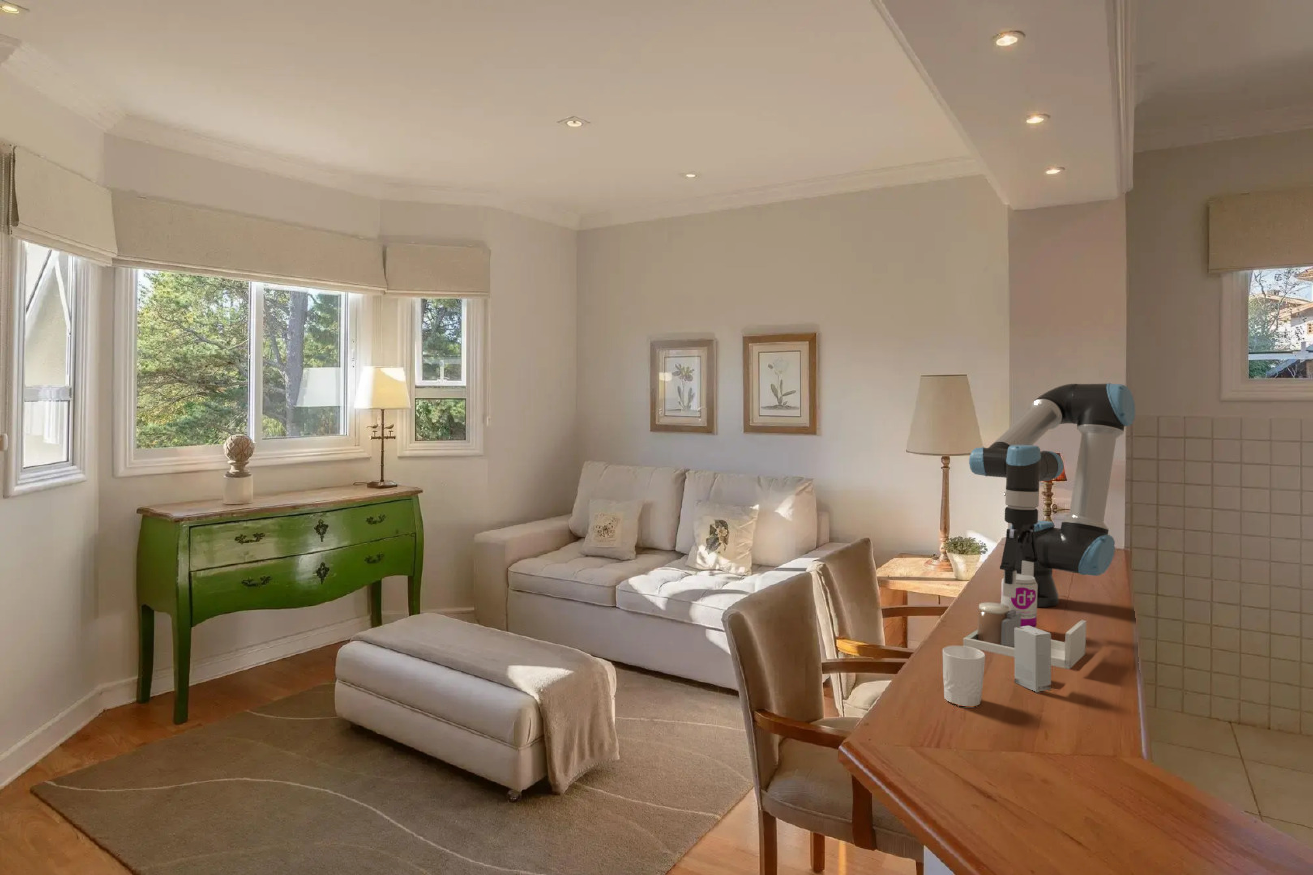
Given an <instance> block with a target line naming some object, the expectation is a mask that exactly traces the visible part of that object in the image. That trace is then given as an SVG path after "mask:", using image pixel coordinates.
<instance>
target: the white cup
mask: <svg viewBox="0 0 1313 875" xmlns="http://www.w3.org/2000/svg"><path fill="white" fill-rule="evenodd" d="M941 651H942V676H943V696H944V697H943V698H944V700H945V699H946V700H947V701H949V702H952V703H955V704H958V705H962V706H975V705H979V704H980V705H981V703H982V691H983V686H984V684H983V683H984V677H985V676H984V675H985V674H984V673H985V672H984V671H985V662H986V653H985V652H983V650H979V649H976V648H972V647H967V646H963V645H947V646H945V647H943V648H942V650H941ZM946 700H945V701H946ZM947 701H946V702H947ZM980 702H981V703H980ZM980 705H979V706H980Z"/></svg>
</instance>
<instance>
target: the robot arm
mask: <svg viewBox="0 0 1313 875" xmlns="http://www.w3.org/2000/svg"><path fill="white" fill-rule="evenodd" d="M1135 404H1136V403H1135V398H1134V395H1133V393H1132V391H1131V389H1130V388H1129V387H1128V386H1127V385H1125V384H1123V383H1122V384H1120V383H1111V382H1108V383H1068V384H1063V385H1060V386H1057V387H1055V388H1053V389H1050V390H1047V391H1046V392H1044V393H1043V394H1042V395H1039V396H1038V397H1037V398H1035V399H1034V400H1033V401H1032V402H1031V403H1030V404H1029V406H1028V408H1027V411H1026V413H1024V414H1023V416H1021V417H1020V418H1019V419H1018V420H1016V422H1015V423H1014V424H1013V425H1011V426H1010V427H1009V428H1008V429H1007V430H1006V431H1005V432H1004V433H1002V434H1001V436H1000V437H998V438H997V439H996V440H995V441H994V442H993V443H992V444H991V445H990V446H989V447H985V446H982V447H975V448H974V449H972V451H971V452H970V454H969V458H968V459H969V460H968V464H969V469H970V471H971V473H973V474H974V475H976V476H977V475H978V476H985V477H991V478H993V477H994V478H1004V479H1005V478H1006V481H1005V482H1006V483H1005V492H1003V496H1004V497H1005V505H1006V507H1005V508H1004V521H1005V522H1006V523H1008V524H1011V525H1010V527H1009V528H1007V529H1006V533H1005V534H1006V535H1005V537H1006V538H1005V540H1004V541H1005V543H1004V548H1003V551H1002V552H1003V553H1002V559H1001V563H1000V566H999V569H1000V570H1002V571H1003V578H1004V582H1003V596H1006V597H1012V598H1015V597H1016V574H1025V575H1030V576H1033V577H1035V581H1036V582H1037V585H1038V587H1037V608H1039V607H1040V608H1045V607H1046V608H1047V607H1053V606H1057V605H1059V593H1058V590H1057V586H1056V583H1055V580H1054V577H1053V570H1058V571H1062V572H1063V571H1064V572H1069V573H1073V574H1079V575H1082V576H1093V577H1094V576H1095V577H1097V576H1098V577H1099V576H1102V575H1103V574H1105V573H1106V571H1107V570H1108V569H1109V567H1110V566H1111V565H1112V561H1113V559H1114V555H1115V549H1116V546H1115V545H1116V542H1115V539H1114V537H1113V536H1112V535H1110V534H1109V527H1107V525H1106V524H1105V523H1104V520H1105V514H1106V507H1107V502H1108V501H1107V500H1108V495H1109V488H1110V483H1111V474H1112V469H1113V462H1114V454H1115V449H1116V442H1117V439H1118V438H1120V436H1122V435H1124V431H1125V427H1129V426H1131V425H1132V424H1133V423H1134V421H1135V419H1136V418H1135V417H1136V405H1135ZM1064 424H1066V425H1067V424H1073V425H1076V429H1077V430H1078V432H1079V433H1080V434H1081V436H1080V437H1081V438H1080V444H1079V448H1078V455H1077V462H1076V468H1075V469H1076V470H1075V474H1074V481H1073V487H1072V494H1071V501H1070V507H1069V511H1068V512H1069V514H1068V516H1067V517H1066V518H1065V519H1062V521H1061V524H1060V528H1058V527H1056V526H1055V523H1054V522H1053V521H1049V520H1039V510H1038V509H1037V508H1038V507H1039V505H1040V504H1039V503H1040V482H1049V481H1052V480H1055V479H1057V478H1059V477H1060V476H1061V475H1062V473H1063V472H1064V467H1065V466H1064V465H1065V462H1064V460H1063V458H1062V457H1061V456H1060V454H1058V453H1056V452H1054V451H1049V450H1041V449H1040V447H1039V446H1038V445H1034V444H1035V443H1036V442H1038V441H1039V439H1040V438H1042V437H1043V436H1044V435H1045V434H1046V432H1048V431H1049V430H1052V429H1055V428H1057V427H1058V426H1060V425H1064Z"/></svg>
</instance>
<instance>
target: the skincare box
mask: <svg viewBox="0 0 1313 875" xmlns="http://www.w3.org/2000/svg"><path fill="white" fill-rule="evenodd" d="M1051 640H1052V633H1050V632H1048V631H1045V630H1043V629H1040V628H1037V627H1036V628H1034V627H1031V626H1022V627H1016V628H1014V645H1015V657H1014V683H1015V684H1017V685H1018V686H1020V687H1024V688H1025V689H1029V690H1030V691H1032V690H1033V691H1032V692H1034V691H1035V693H1040V692H1039V691H1044V692H1046V691H1045V690H1049V691H1051V690H1052V687H1051V686H1052V665H1051ZM1050 689H1051V690H1050Z"/></svg>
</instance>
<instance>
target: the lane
mask: <svg viewBox="0 0 1313 875" xmlns="http://www.w3.org/2000/svg"><path fill="white" fill-rule="evenodd" d="M977 634H978V628H977V629H976V630H974V631H972V632H971V633H970V634H968V635H966V636H965V637H963V639H962V646H967V647H972V648H976V649H978V650H981V651H985V652H989V653H992V654H998V655H1002V656H1006V657H1012V658H1015V645H1014V646H1013V647H1007V646H1003V645H998V644H993V643H988V642H984V641H979V640H977ZM1064 635H1065V636H1064V637H1065V639H1064V641H1060V640H1056V639H1051V667H1057V668H1062V669H1066V670H1071V668H1073V666H1075V665H1076V663H1078V662H1079V660H1080V659H1082V658H1083V657H1084V656H1085V655H1086V640H1087V637H1086V636H1087V620H1084V619H1081V620H1080V621H1078V622H1077V623H1076V624H1074V626H1072V627H1071V628H1070V629H1068V631H1066V632H1065V634H1064Z"/></svg>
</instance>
